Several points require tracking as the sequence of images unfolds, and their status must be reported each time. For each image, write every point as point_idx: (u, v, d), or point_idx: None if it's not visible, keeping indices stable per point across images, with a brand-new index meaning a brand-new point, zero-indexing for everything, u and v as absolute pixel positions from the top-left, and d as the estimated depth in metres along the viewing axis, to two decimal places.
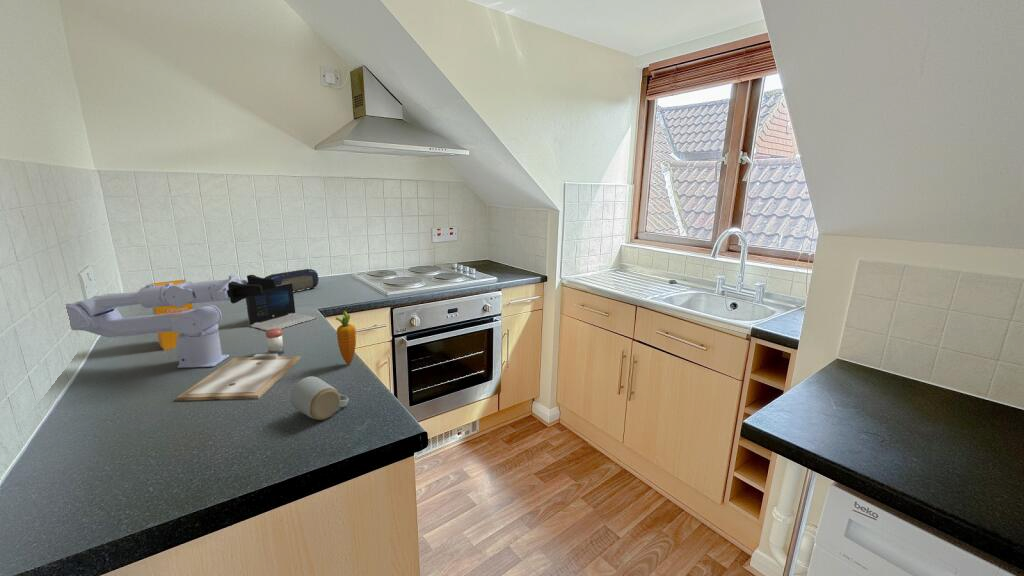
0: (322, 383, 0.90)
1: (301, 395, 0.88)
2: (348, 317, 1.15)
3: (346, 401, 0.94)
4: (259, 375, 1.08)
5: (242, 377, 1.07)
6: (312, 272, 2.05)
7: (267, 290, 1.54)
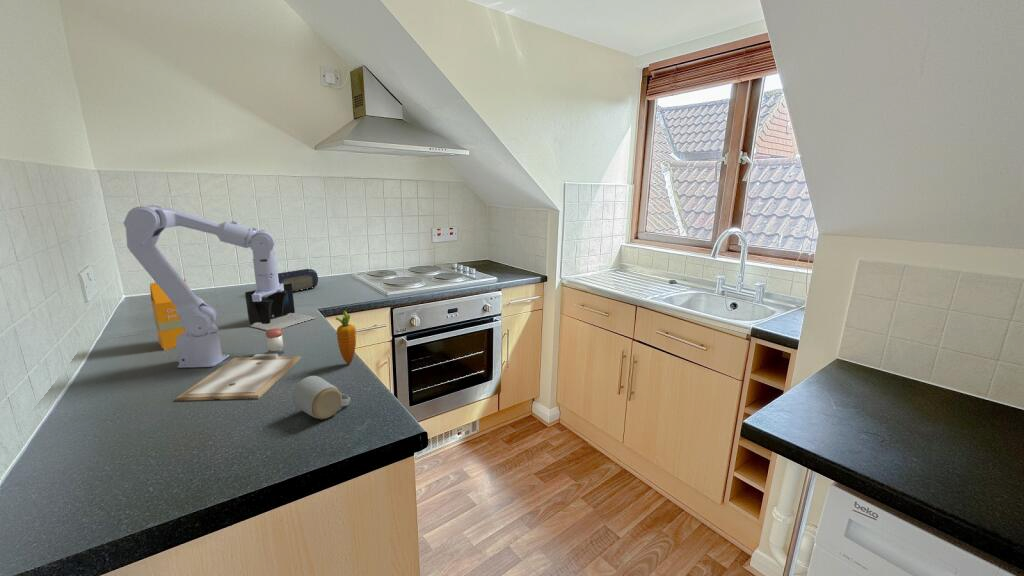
0: (324, 382, 0.91)
1: (303, 395, 0.88)
2: (348, 317, 1.15)
3: (348, 400, 0.94)
4: (259, 375, 1.08)
5: (242, 377, 1.07)
6: (312, 272, 2.05)
7: None
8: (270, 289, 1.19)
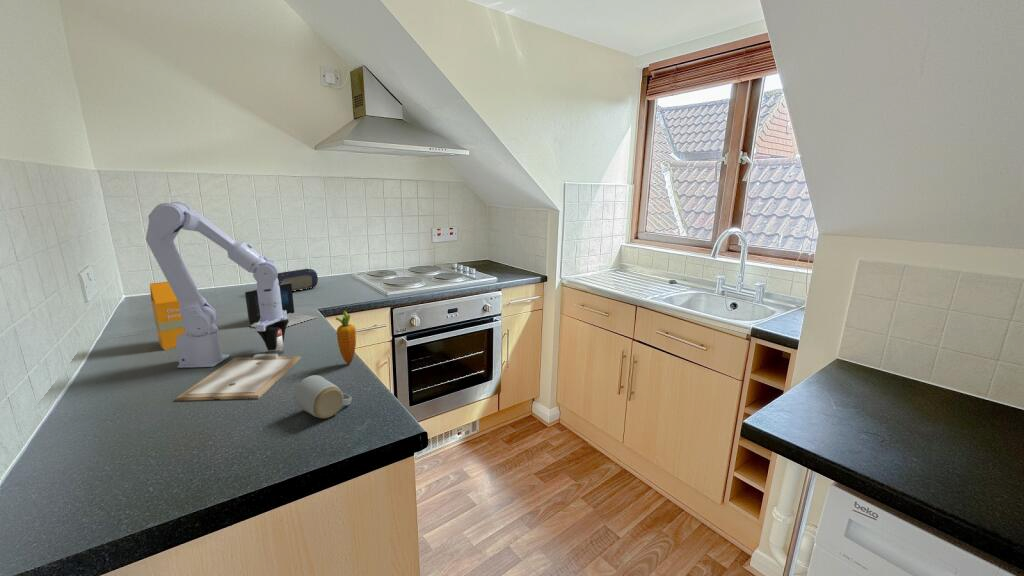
0: (325, 382, 0.91)
1: (305, 394, 0.89)
2: (348, 317, 1.15)
3: (349, 400, 0.95)
4: (259, 375, 1.08)
5: (242, 377, 1.07)
6: (311, 272, 2.05)
7: None
8: (274, 318, 1.21)
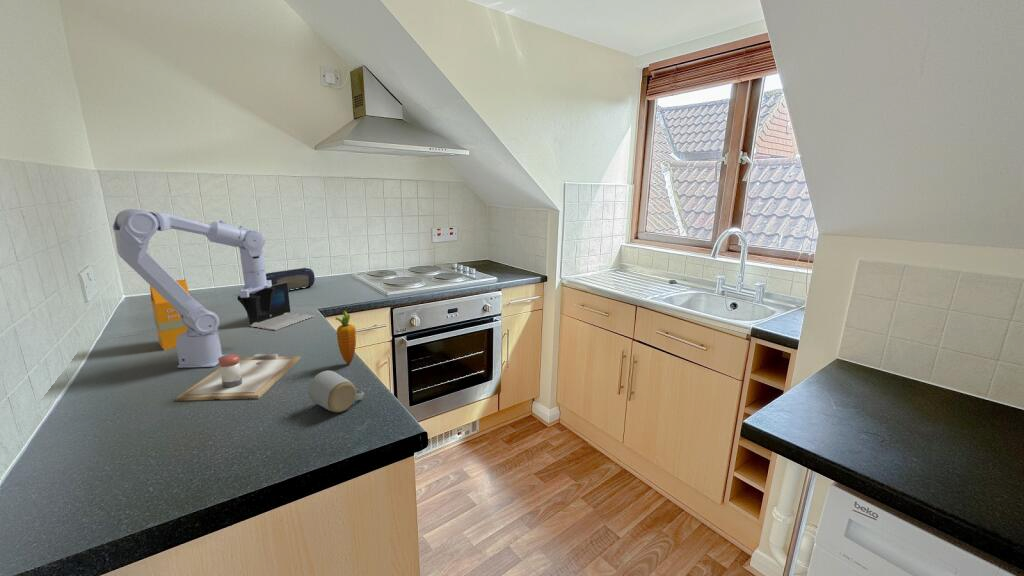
0: (339, 377, 0.93)
1: (319, 388, 0.91)
2: (348, 317, 1.15)
3: (361, 394, 0.97)
4: (259, 375, 1.08)
5: (242, 377, 1.07)
6: (308, 271, 2.07)
7: None
8: (257, 285, 1.24)
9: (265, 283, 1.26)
